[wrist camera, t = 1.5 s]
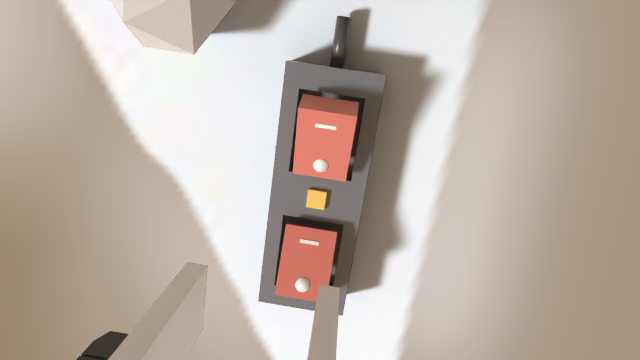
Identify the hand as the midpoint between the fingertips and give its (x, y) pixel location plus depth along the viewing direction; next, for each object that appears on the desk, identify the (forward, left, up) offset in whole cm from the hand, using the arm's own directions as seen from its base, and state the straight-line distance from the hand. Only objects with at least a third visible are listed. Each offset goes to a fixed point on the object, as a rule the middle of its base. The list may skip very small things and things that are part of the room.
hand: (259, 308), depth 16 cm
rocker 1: (-3, -1, -21) cm, 21 cm away
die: (-4, -17, -25) cm, 30 cm away
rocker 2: (+7, +5, -21) cm, 23 cm away
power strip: (0, +1, -25) cm, 25 cm away
